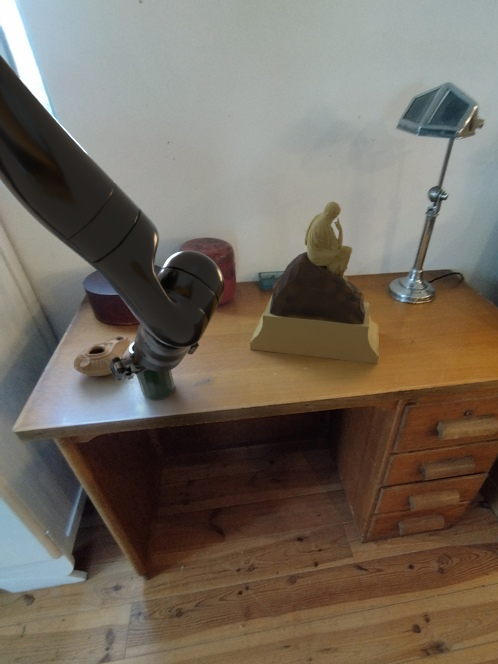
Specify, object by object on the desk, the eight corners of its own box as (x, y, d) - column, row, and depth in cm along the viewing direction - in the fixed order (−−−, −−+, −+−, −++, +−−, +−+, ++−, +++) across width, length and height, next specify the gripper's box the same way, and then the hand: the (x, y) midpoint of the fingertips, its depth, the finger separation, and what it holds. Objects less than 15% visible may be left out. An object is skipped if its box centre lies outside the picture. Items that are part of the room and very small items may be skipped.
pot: (144, 403, 71) (130, 359, 64) (141, 384, 75) (127, 340, 68) (177, 395, 73) (166, 352, 66) (172, 377, 77) (161, 334, 70)
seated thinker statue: (377, 332, 92) (403, 195, 72) (377, 363, 82) (407, 215, 62) (263, 320, 94) (258, 184, 74) (250, 349, 85) (240, 202, 65)
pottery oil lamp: (146, 351, 82) (140, 335, 76) (109, 395, 77) (99, 381, 71) (111, 331, 82) (102, 312, 76) (72, 373, 78) (59, 357, 71)
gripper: (196, 304, 60) (178, 335, 74) (102, 332, 53) (102, 360, 67) (216, 348, 60) (194, 370, 74) (126, 381, 53) (121, 399, 68)
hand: (151, 365), depth 71 cm, fingers open, 8 cm apart
